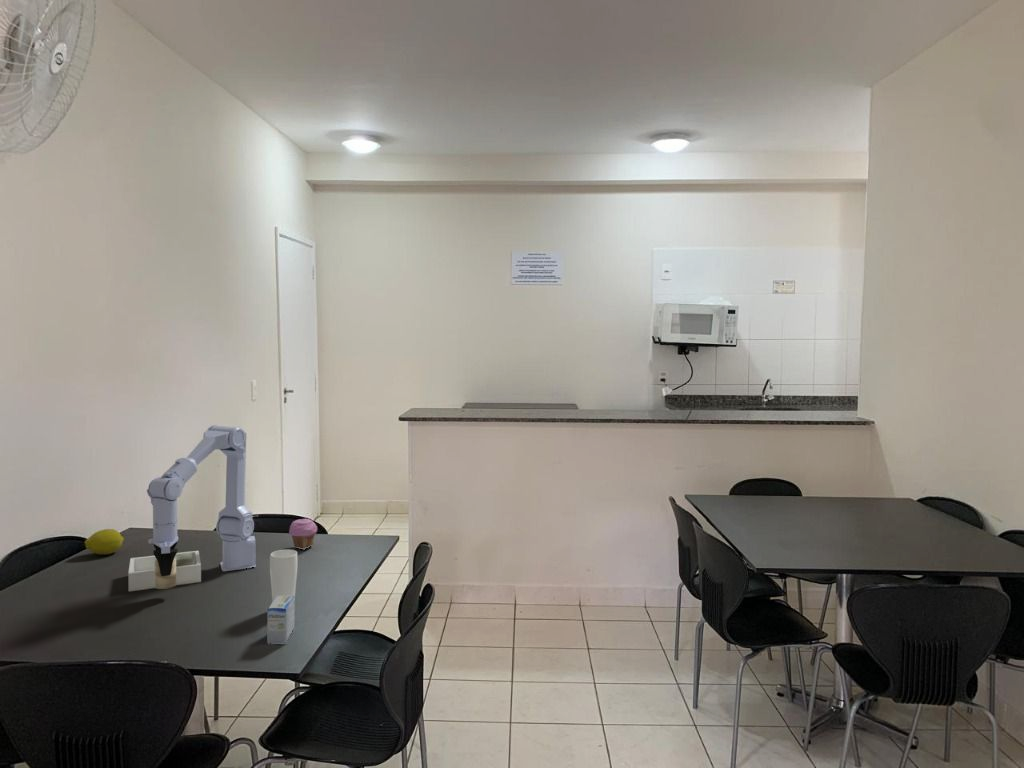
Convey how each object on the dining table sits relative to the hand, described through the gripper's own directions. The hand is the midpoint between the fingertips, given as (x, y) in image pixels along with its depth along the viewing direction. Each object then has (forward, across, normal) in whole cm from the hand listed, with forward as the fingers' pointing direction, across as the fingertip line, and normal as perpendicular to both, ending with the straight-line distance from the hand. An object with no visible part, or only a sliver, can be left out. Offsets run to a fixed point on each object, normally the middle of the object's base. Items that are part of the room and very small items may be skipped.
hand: (165, 572), depth 177 cm
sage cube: (+6, -16, +4) cm, 18 cm away
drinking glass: (+7, +21, +27) cm, 35 cm away
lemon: (+7, -47, -17) cm, 50 cm away
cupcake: (+8, -29, +41) cm, 51 cm away
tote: (+7, -16, 0) cm, 17 cm away
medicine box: (+7, +37, +24) cm, 45 cm away
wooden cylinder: (+4, 0, 0) cm, 4 cm away
